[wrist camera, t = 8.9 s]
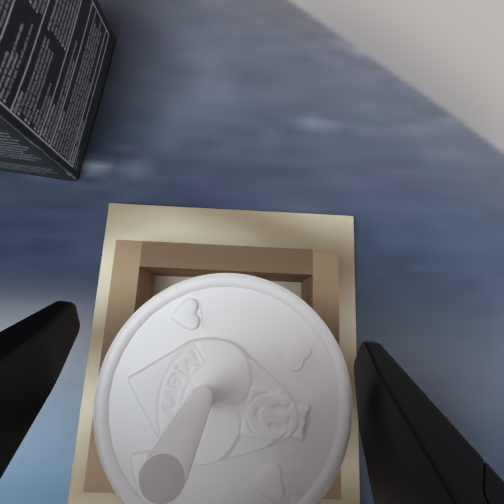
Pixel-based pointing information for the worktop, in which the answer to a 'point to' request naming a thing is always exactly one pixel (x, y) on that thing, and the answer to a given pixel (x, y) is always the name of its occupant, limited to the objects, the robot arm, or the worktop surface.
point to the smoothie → (223, 398)
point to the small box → (50, 83)
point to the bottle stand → (211, 262)
